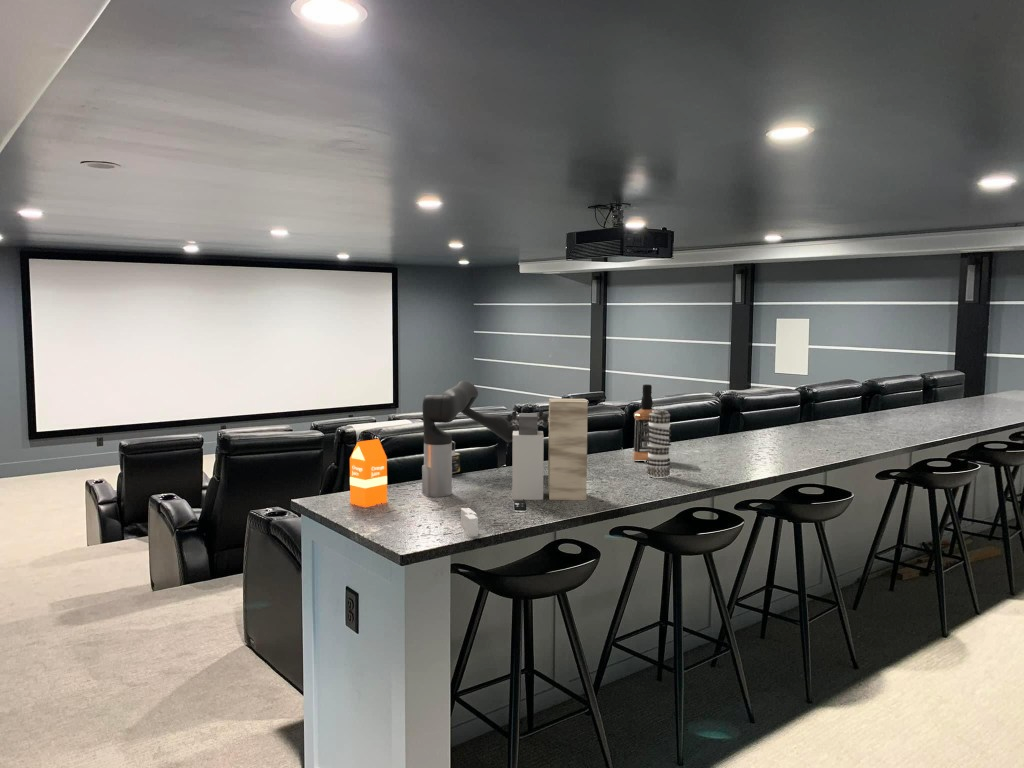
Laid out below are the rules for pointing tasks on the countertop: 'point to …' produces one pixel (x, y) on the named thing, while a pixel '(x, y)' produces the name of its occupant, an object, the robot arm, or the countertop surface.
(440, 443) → the robot arm
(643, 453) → the whiskey bottle
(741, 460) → the countertop surface
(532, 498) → the tall white pillar block
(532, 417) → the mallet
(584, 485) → the stand
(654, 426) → the decorative candle
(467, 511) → the napkin holder
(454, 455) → the medicine bottle
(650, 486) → the countertop surface
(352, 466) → the orange juice
